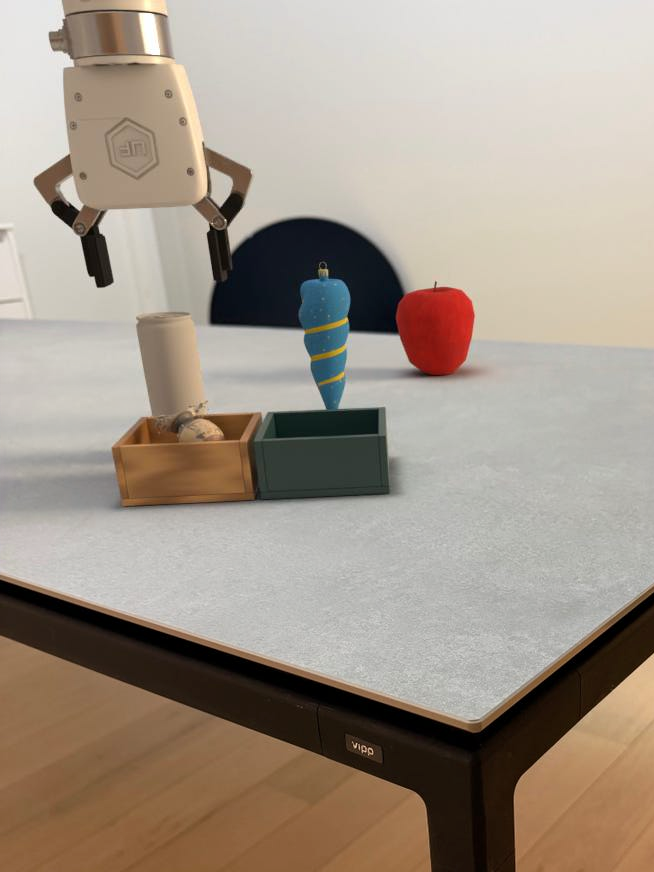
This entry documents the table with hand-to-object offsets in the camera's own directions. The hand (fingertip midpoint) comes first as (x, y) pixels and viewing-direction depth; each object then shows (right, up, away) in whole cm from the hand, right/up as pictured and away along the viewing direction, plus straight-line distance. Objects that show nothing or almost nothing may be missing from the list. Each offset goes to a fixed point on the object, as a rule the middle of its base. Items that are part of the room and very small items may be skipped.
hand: (163, 283), depth 81 cm
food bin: (+4, -18, -3) cm, 18 cm away
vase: (+3, -14, -3) cm, 14 cm away
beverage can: (0, -13, +6) cm, 15 cm away
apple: (+22, +3, +39) cm, 44 cm away
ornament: (+12, -7, +18) cm, 23 cm away
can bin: (+14, -17, -2) cm, 22 cm away
